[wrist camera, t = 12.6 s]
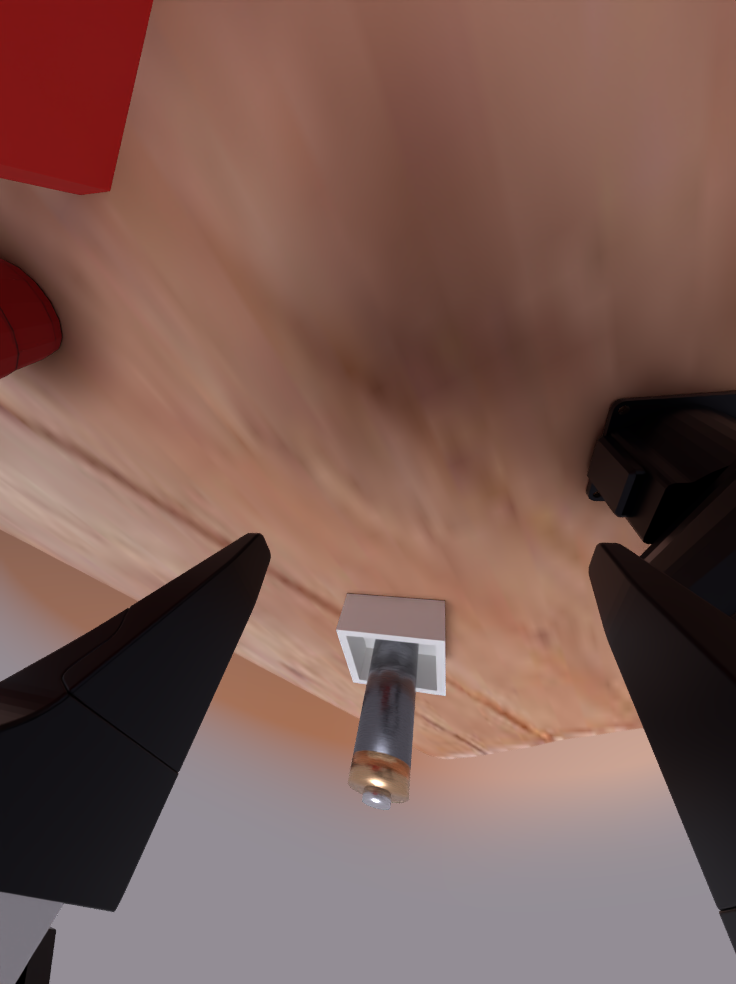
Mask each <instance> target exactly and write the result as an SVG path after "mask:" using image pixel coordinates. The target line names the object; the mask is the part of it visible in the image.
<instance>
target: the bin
mask: <svg viewBox="0 0 736 984" xmlns="http://www.w3.org/2000/svg"><path fill="white" fill-rule="evenodd" d="M336 631H337V634H338V637H339V640H340V643H341V646H342V649H343V652H344V655H345V658H346V661H347V664H348V667H349V670H350V673H351V676H352V679H353V682H355V683H361V684H367V679H368V674H369V669H370V664H371V658H372V653H373V648H374V642H375V639H381V640H390V641H399V642H408V643H418V644H419V651H418V665H417V680H416V692H422V693H429V694H436V695H443V696H446V650H445V601H440V600H427V599H414V598H401V597H388V596H375V595H362V594H349V593H347V595H346V599H345V602H344V605H343V608H342V612H341V615H340V618H339V621H338V625H337V628H336Z"/></svg>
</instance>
